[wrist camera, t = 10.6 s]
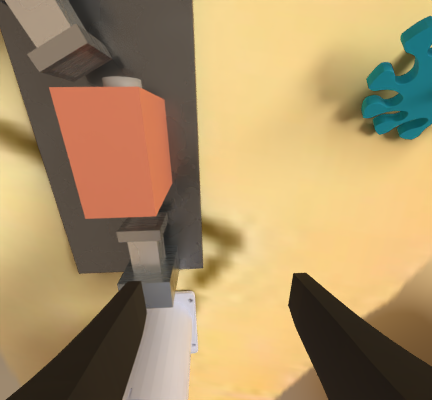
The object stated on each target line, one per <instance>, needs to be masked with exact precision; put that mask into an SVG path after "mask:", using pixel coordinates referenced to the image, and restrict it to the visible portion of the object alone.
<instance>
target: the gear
mask: <svg viewBox="0 0 432 400" xmlns="http://www.w3.org/2000/svg"><path fill="white" fill-rule="evenodd" d="M401 42H402V45H403V47H404V50H405V51H406V52H407V53H410V54H412V55H414V56H415V63H414V66H413V68H412V69H411V70H410V71H409V72H407V73H406V74H404V75H401V76H395V73H394V70H393V67H392V65H391V64H390V63H388V62H383V63H381V64H379V65H378V66H377V67H376V68H375V69H374V70H373V71H372V72H371V73H370V75H369V76H368V77H367V79H366V80H367V84H368V88H369V89H370V90H372V91H378V90H394V91H396V92H398V94H397V95H396V96H395V97H393V98H390V99H383V98H381V97H380V96H378V95H371V96H368V97H366V98H365V99H364V101H363V103H362V108H361V111H362V115H363V118H371V117H374V116H376V115H379V114H382V113H385V112H390V111H400V112H398V113H396V114H382V115H379V116H377V117H375V118H374V119H373V124H374V128H375V131H376V132H377V133H378V134H379V135H380V134H384V133H387V132H389V131H390V130H392V129H393V128H395V127H396V126H398V125H400V124H401V125H400V126H399V127H398V128H397V130H398V133H399V136H400V137H401V138H404V139H410V140H411V139H414V138H416V137H418V136H419V135H420V134H421V133H422V132H423V131H424V130H425V129H426V128H427V127H428V126H430V125H431V124H432V48H430V46H431V45H432V16H429V17H427V18H424V19H422V20H421V21H419V22H417V23H416V24H414V25H413V26H411V27H410V28H409V29H407V30H406V31H405V32H403V33H402V35H401Z"/></svg>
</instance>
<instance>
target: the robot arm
mask: <svg viewBox="0 0 432 400" xmlns="http://www.w3.org/2000/svg"><path fill="white" fill-rule="evenodd" d="M190 299H191V300H190ZM288 306H289V309H290V312H291V315H292V318H293V321H294V324H295V327H296V329H297V331H298V334H299V336H300V338H301V340H302V342H303V345H304V347H305V349H306V351H307V353H308V355H309V357H310V360H311V362H312V364H313V366H314V368H315V370H316V372H317V375H318V377H319V379H320V381H321V383H322V385H323V388H324V390H325V393H326V395H327V397H328V400H432V366H430V365H428V364H427V363H425V362H424V361H422V360H421V359H419V358H417V357H416V356H414V355H413V354H411V353H409V352H408V351H407V350H405V349H404V348H402V347H401V346H399V345H398V344H396V343H395V342H393V341H392V340H390V339H389V338H388V337H386V336H385V335H383V334H382V333H381V332H379V331H378V330H376V329H375V328H374V327H372V326H371V325H370V324H368V323H367V322H366V321H364V320H363V319H362V318H360V317H359V316H358V315H357V314H355V313H354V312H353V311H351V310H350V309H349V308H348V307H346V306H345V305H344V304H343V303H342V302H340V301H339V300H338V299H337V298H335V297H334V296H333V295H332V294H331V293H329V292H328V291H327V290H326V289H325V288H323V287H322V286H321V285H320V284H319V283H318V282H316V281H315V280H314V279H313V278H312V277H310V276H309V275H308V274H307V273H293V279H292V285H291V292H290V298H289V304H288ZM197 351H198V338H197V322H196V305H195V293H194V292H193V291H177V292H175V298H174V304H173V307H171V308H152V309H146V304H145V299H144V293H143V288H142V283H141V281H128V282H127V283H126V284H125V285H124V286H123V287H122V288H121V289H120V290H119V292H118V293H117V294H116V295H115V296H114V297H113V298H112V299H111V300H110V302H109V303H108V304H107V305H106V306H105V307H104V308H103V309H102V310H101V311H100V313H99V314H98V315H97V316H96V317H95V318H94V319H93V320H92V321H91V322H90V323H89V324H88V325H87V326H86V327H85V328H84V329H83V330H82V331H81V332H80V333H79V334H78V335H77V336H76V337H75V338H74V339H73V340H72V341H71V342H70V343H69V344H68V345H67V346H66V347H65V348H64V349H63V350H62V351H61V352H60V353H59V354H58V355H57V356H56V357H55V358H54V359H53V360H52V361H50V362H49V363H48V364H47V365H46V366H45V367H44V368H43V369H42V370H40V371H39V372H38V373H37V374H36V375H35V376H34V377H33V378H31V379H30V380H29V381H28V382H27V383H26V384H24V385H23V386H22V387H21V388H20V389H18V390H17V391H16V392H15V393H13V394H12V395H11V396H10V397H9V398H7V399H6V400H188V393H189V375H190V357H191V353H196V352H197Z"/></svg>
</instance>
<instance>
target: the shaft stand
mask: <svg viewBox="0 0 432 400" xmlns="http://www.w3.org/2000/svg"><path fill="white" fill-rule="evenodd" d="M0 29H1V32H2V35H3V38H4V41H5V44H6V47H7V51H8V54H9V57H10V60H11V63H12V66H13V69H14V72H15V76H16V79H17V82H18V85H19V88H20V91H21V94H22V97H23V100H24V104H25V107H26V110H27V113H28V116H29V119H30V122H31V125H32V128H33V132H34V135H35V138H36V141H37V144H38V147H39V150H40V153H41V156H42V160H43V163H44V166H45V169H46V172H47V175H48V178H49V181H50V184H51V188H52V191H53V194H54V197H55V200H56V203H57V206H58V209H59V212H60V216H61V219H62V222H63V225H64V228H65V231H66V234H67V237H68V241H69V244H70V247H71V250H72V253H73V256H74V259H75V262H76V265H77V269H78V272H79V274H82V273H105V272H124V273H123V274H122V276H121V278H120V280H119V282H118V284H117V286H118V290H120V289H121V288H122V287H123V286H124V285H125V284H126V283H127V282H128V281H141V283H142V288H143V293H144V299H145V304H146V309H152V308H171V307H173V304H174V298H175V291H176V285H177V279H178V273H179V269H196V268H203V247H202V222H201V196H200V171H199V145H198V120H197V95H196V69H195V44H194V18H193V0H0ZM110 76H121V77H132V78H137V79H140V80H141V84H142V89H144V90H146V91H148V92H150V93H152V94H154V95H156V96H158V97H160V98H162V99H164V100H165V111H166V121H167V132H168V142H169V153H170V163H171V173H172V185H171V187H170V189H169V191H168V193H167V195H166V197H165V199H164V201H163V203H162V205H161V207H160V209H159V211H158V213H157V215H156V216H152V217H123V218H95V219H85V215H84V212H83V208H82V205H81V201H80V197H79V194H78V190H77V187H76V183H75V179H74V176H73V172H72V169H71V165H70V161H69V158H68V154H67V151H66V147H65V143H64V140H63V136H62V133H61V129H60V125H59V122H58V118H57V115H56V111H55V107H54V104H53V100H52V97H51V93H50V89H49V87H103V81H102V78H103V77H110Z"/></svg>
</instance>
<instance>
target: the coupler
mask: <svg viewBox="0 0 432 400" xmlns="http://www.w3.org/2000/svg"><path fill="white" fill-rule="evenodd" d="M102 81H103V87H49V89H50V93H51V97H52V100H53V104H54V107H55V111H56V115H57V118H58V122H59V125H60V129H61V133H62V136H63V140H64V143H65V147H66V151H67V154H68V158H69V161H70V165H71V169H72V172H73V176H74V179H75V183H76V187H77V190H78V194H79V197H80V201H81V205H82V208H83V212H84V215H85V219H95V218H123V217H152V216H156V215H157V213H158V211H159V209H160V207H161V205H162V203H163V201H164V199H165V197H166V195H167V193H168V191H169V189H170V187H171V185H172V173H171V163H170V153H169V142H168V132H167V121H166V111H165V100H164V99H162V98H160V97H158V96H156V95H154V94H152V93H150V92H148V91H146V90H144V89H142V84H141V80H140V79H137V78H132V77H121V76H110V77H103V78H102Z"/></svg>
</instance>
